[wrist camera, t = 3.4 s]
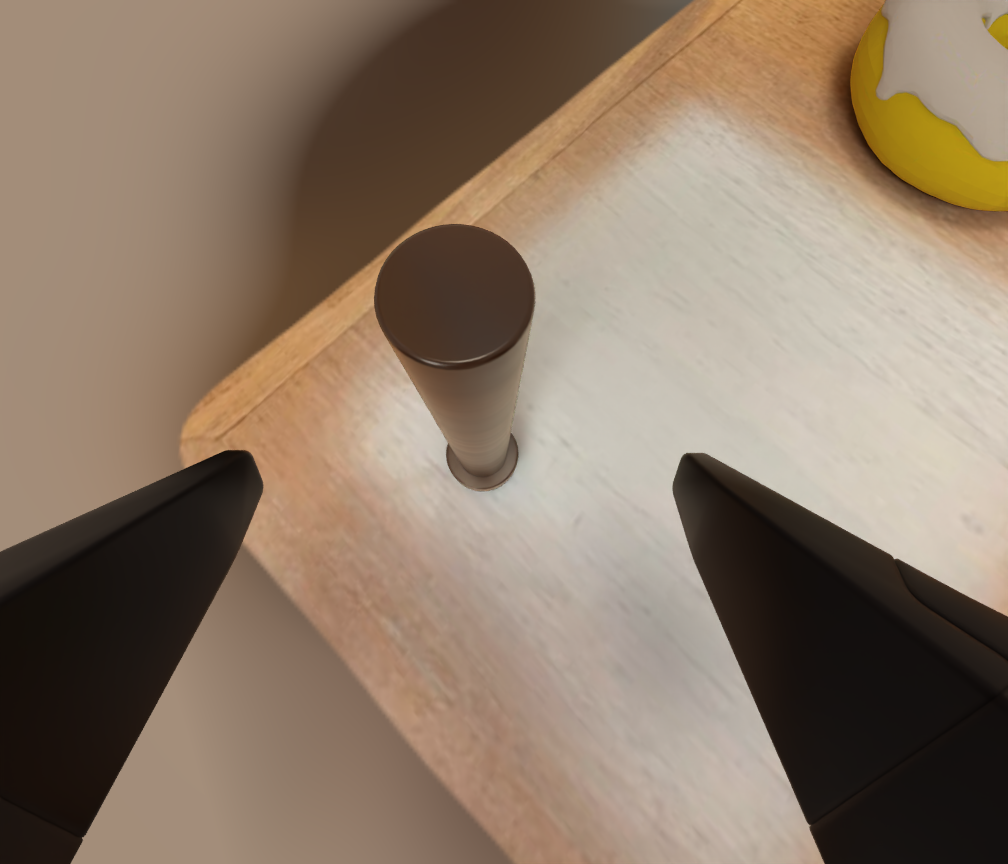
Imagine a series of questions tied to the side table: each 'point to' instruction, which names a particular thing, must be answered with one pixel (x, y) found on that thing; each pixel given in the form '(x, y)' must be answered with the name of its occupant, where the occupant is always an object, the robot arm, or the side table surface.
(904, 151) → the donut
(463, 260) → the stirring stick
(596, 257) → the side table surface
